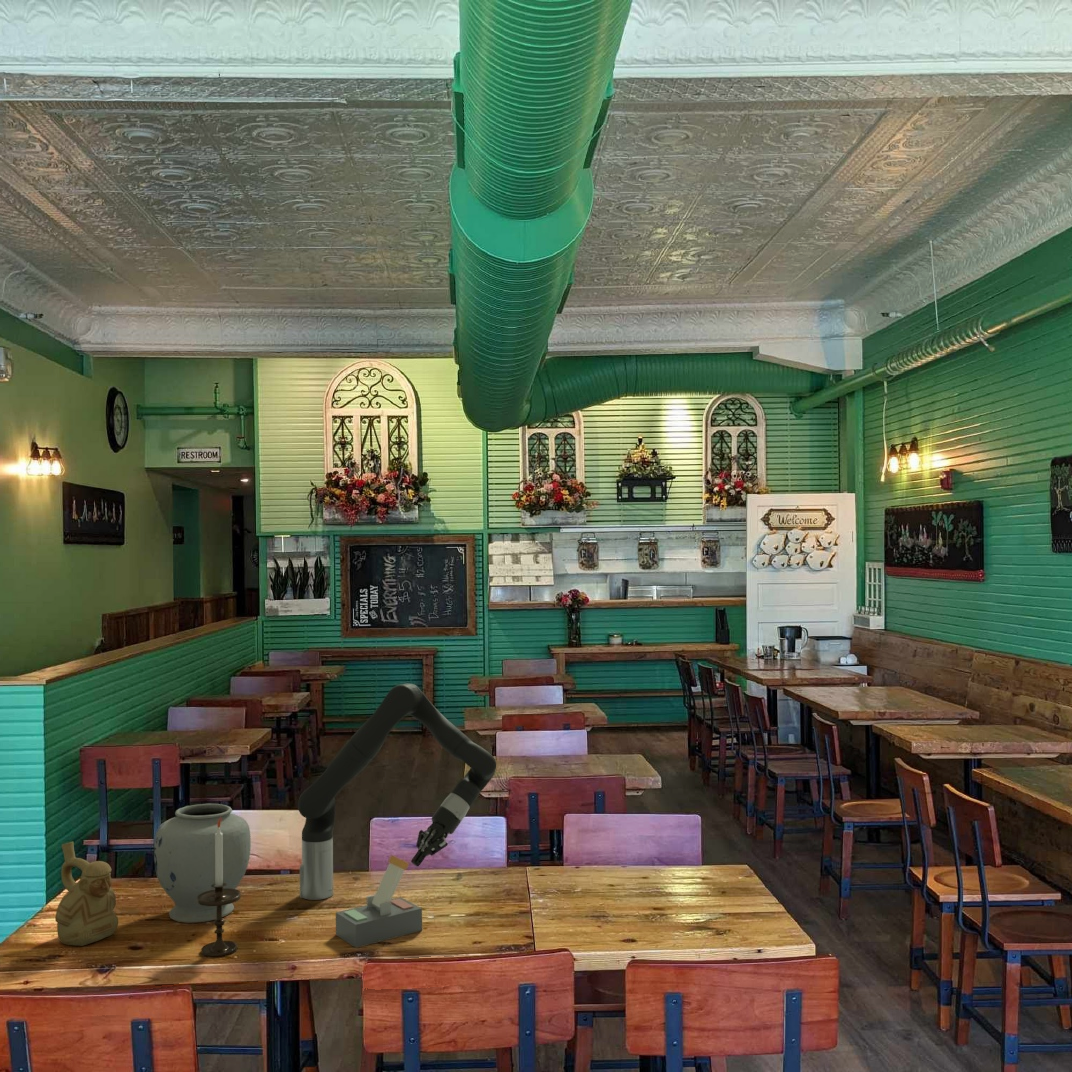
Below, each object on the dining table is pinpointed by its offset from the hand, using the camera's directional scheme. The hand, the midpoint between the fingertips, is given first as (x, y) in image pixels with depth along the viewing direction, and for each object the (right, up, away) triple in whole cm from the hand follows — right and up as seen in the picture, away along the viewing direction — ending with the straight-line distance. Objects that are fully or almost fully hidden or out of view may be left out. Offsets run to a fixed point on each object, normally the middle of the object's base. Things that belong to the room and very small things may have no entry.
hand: (414, 864), depth 280 cm
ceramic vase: (-63, -18, +11) cm, 66 cm away
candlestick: (-49, -17, -19) cm, 55 cm away
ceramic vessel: (-89, -18, -8) cm, 91 cm away
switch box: (-9, -16, -7) cm, 20 cm away
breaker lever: (-9, -9, -7) cm, 15 cm away
